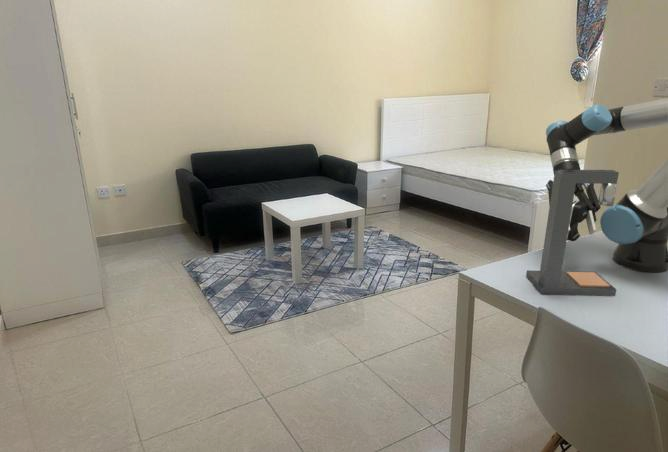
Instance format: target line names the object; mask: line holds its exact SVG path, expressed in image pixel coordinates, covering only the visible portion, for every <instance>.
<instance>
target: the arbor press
mask: <svg viewBox="0 0 668 452" xmlns="http://www.w3.org/2000/svg"><path fill="white" fill-rule="evenodd" d="M619 175H620V172H619V171H616V170H614V169H581V170H558V171H555V174H554V173H553V180H552V181H553V187H552V194H551V201H550V206H549V207H548V214H547V221H546V228H545V229H546V230H545V235H544V241H543V242H544V243H543V248H542V249H543V250H542V254H541V255H542V256H541V262H540V268H539V269H540V270H526V273H525V274H526V275H525V277H526V279H527V280H528V281H529V282H530V284H532V286H533V287H534V289H536V291H537V292H538V293H539V294H540V295H542V296H543V295H544V296H545V295H547V296H551V295H552V296H587V297H588V296H589V297H590V296H594V297H595V296H596V297H597V296H599V297H600V296H601V297H616V294H617V289H616V288H615V287H614V286H613V285H612V284H611V283H610V282H608V281H607V280H606V279H605V278H604V277H602V276H601V275H600V274H599V273H597V272H596V271H594V272H595V273H596V274H597V275H598V276H599V277H600V278H602V279H603V280H604V281H605V282H606V283H608V284H609V285H610V287H583V286H579V285H578V284H577V283H576V282H575V281H574V280H573V279H572V278H571V277H570V276H569V275H568V274H567V272H590V271H585V270H584V271H580V270H578V271H577V270H576V271H573V270H572V271H571V270H563V264H564V257H565V254H566V253H565V251H566V245H567V241H568V240H567V234H568V228H569V222H570V216H571V210H572V204H573V202H574V199H575V198H574V197H575V195H574V192H575V186H576V183H592V184H594V185H595V184H597V185H598V184H600V189H599V196H598V204H599V205H600V206H604V207H611V206H613V205H615V204H614V203H615V199H616V194H617V188H618V185H619V184H618V178H619Z"/></svg>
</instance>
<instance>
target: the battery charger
mask: <svg viewBox="0 0 668 452" xmlns="http://www.w3.org/2000/svg"><path fill="white" fill-rule="evenodd" d="M587 211H588V204H587V203H585V202H581V201H579V200H573V204H572V210H571V216H570V222H569V225H570V231H569V232H568V234H567V240H566V241H569V242H576V241H577V240H578V239H579V238H580V237H581V234H580V233H579V230H578V228H579V227H578V226H579V224H580V223H582V222H583V221H584V220H586V217H587Z"/></svg>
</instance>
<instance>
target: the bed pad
mask: <svg viewBox="0 0 668 452" xmlns="http://www.w3.org/2000/svg"><path fill="white" fill-rule="evenodd" d="M595 272H596V271H589V272H567V274H568V275H569V276H570V277H571V278H572V279H573V280H574V281H575V282H576V283H577V284H578V285H579V286H583V287H610V285H609V284H610V283H609V282H608V283H609V284H608V283H606V282H605V281H604V280H603V279H604V278H603V277H602V278H603V279H602V278H600V277H599V276H598V275H597V274H598V273H597V272H596V273H597V274H596V273H595Z"/></svg>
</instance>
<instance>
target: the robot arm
mask: <svg viewBox="0 0 668 452" xmlns="http://www.w3.org/2000/svg"><path fill="white" fill-rule="evenodd" d="M665 125H668V97H664V98H660V99H656V100H651V101H646V102H640V103H636V104H629V105H626V106H620V107H615V108H610V109H608V108H607V107H606V106H604V105H602V104H600V103H599V104H597V103H596V104H595V105H592V106H591V107H588V108H587V109H584V111H583V112H581V113H580V114H579V115H577V116H575V117H574V118H572V119H571V120H570V121H566V120H558V121H556V122H552V123H550V124H549V125H548V126H547V128H546V131H545V134H546V143H547V146H548V151H549V155H550V162H551V165H552V173H553V175H554V174H555V171H558V170H582V169H581V166H580V161H579V156H578V153H577V149H576V145H579V144H581V143H582V142H584V141H585V140H587V139H590V138H591V137H593V136H599V135H600V136H601V135H606V134H616V133H620V132H626V131H632V130H639V129H646V128H650V127H656V126H665ZM545 187H546V190H547V191H548V192H547V193H548V202H549V205H548V206H549V207H550V201H551V194H552V187H553V180H552V179H549V180H548V181H547V183H546V184H545ZM594 187H595V184H592V183H576V186H575V192H574V197H577V200H578V201H581V202H585V203H587V204H588V211H587V217H586V219H585V220H586V226H587V229H588V234H589V235H594V233H595V232H596V231H597V227H596V224H595V223H596V222H597V216H596V213H598V211H600V210H601V208H602V207H601V206H602V205H599V204H598V200H599V197H598V196H597V192H596V190H595V188H594ZM599 223H600V229H601V231H602V233H603V234H604V236H605V238H607V239H608V240H610V241H611V242H613V243H615V244H617V246H616V248H615V250H614V251H613V255H612V260H613V262H615V263H616V264H618V265H620V266H622V267H624V268H627V269H630V270H634V271H640V272H645V273H646V272H647V273H662V272H667V271H668V157H667V158H666V159H665V160H664V161H663V162H662V163H661V164H660V165H659V167H658V168H657V169H656V170H655V171H654V172H653V173H652V174H651V175H650V176H649V177H648V179H646V180H645V182H644V183H642V185H641V186H640V187H639V188H638V189H637V188H636V189H631V190H628V191H627V193H625V194H624V196H623V197H622V198H621V199H619V201H618V202H617V203H616V204H614V205H613V206H608V207H607V208H606V209H605V210H604V211H603V212H602V214H601V215H600V221H599ZM569 231H570V225H569V228H568V232H569Z"/></svg>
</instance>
